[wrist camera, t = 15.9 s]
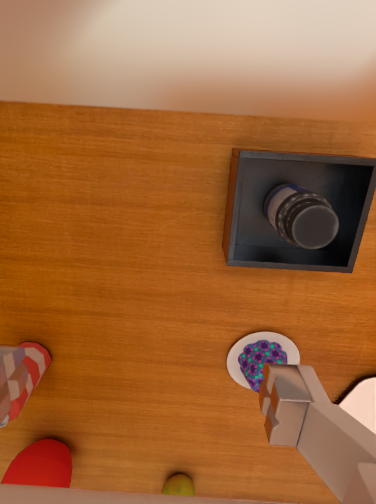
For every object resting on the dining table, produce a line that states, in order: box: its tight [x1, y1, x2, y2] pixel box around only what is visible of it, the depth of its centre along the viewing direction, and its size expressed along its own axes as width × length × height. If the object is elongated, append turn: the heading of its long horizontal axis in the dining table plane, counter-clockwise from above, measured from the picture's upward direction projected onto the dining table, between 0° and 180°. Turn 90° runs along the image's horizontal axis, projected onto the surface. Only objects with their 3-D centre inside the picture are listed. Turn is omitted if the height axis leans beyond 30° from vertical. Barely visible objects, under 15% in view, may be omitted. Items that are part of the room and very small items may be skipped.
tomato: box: [1, 439, 72, 488], centre depth 53 cm, size 11×11×13 cm
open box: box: [222, 148, 376, 273], centre depth 38 cm, size 14×16×7 cm
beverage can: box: [0, 342, 51, 428], centre depth 46 cm, size 6×6×12 cm
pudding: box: [227, 332, 300, 393], centre depth 48 cm, size 12×12×5 cm
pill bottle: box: [263, 183, 339, 249], centre depth 35 cm, size 6×6×11 cm
